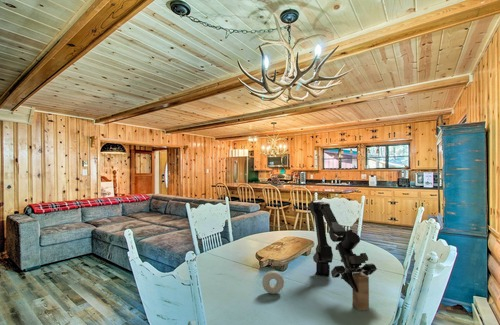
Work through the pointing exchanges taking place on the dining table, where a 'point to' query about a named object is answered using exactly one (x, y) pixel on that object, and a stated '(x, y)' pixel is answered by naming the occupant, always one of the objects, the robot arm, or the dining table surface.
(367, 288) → the walnut block
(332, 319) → the dining table surface
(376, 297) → the dining table surface
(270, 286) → the donut
